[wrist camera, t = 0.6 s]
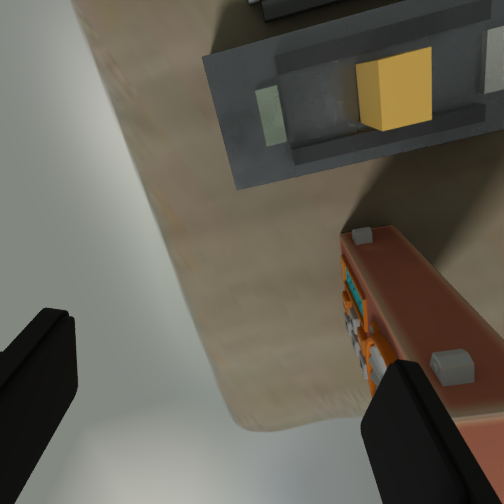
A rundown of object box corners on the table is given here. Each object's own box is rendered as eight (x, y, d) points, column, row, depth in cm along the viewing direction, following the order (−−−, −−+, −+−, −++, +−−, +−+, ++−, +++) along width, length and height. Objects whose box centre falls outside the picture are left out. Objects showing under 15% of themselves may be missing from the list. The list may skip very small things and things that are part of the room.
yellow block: (398, 53, 24) (431, 46, 20) (401, 113, 26) (431, 119, 21) (355, 64, 24) (377, 60, 20) (360, 122, 26) (382, 131, 22)
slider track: (521, -27, 25) (580, -51, 21) (509, 115, 30) (556, 121, 25) (208, 60, 28) (199, 55, 23) (239, 178, 32) (236, 194, 28)
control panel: (342, 339, 41) (330, 222, 34) (403, 330, 40) (402, 209, 34) (420, 568, 22) (426, 402, 15) (538, 559, 21) (599, 381, 14)
